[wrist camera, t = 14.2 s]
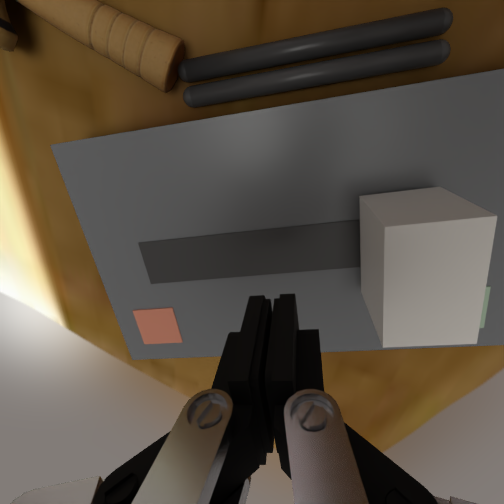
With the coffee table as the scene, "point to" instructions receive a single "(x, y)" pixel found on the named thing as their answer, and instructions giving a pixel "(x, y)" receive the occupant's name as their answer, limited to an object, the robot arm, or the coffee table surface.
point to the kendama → (107, 37)
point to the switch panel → (283, 188)
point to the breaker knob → (424, 266)
